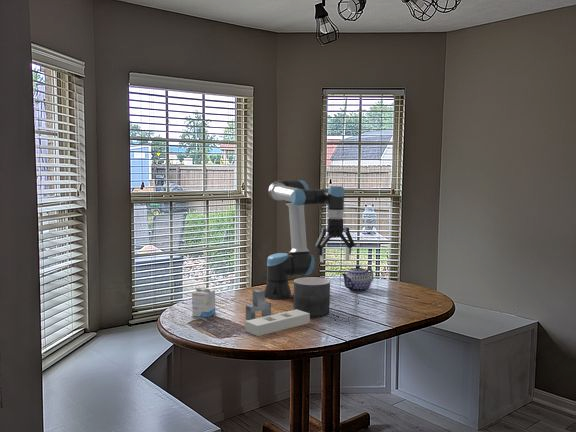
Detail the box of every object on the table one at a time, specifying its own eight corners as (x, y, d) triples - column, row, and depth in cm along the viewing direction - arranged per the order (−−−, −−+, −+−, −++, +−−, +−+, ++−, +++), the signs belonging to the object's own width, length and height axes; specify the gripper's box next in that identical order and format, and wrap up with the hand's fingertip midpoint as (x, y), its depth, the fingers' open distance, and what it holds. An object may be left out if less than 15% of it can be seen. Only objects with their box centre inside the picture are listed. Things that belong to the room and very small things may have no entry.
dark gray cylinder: (310, 305, 270) (311, 275, 268) (337, 312, 257) (337, 281, 256) (286, 312, 257) (286, 280, 256) (312, 319, 245) (312, 286, 243)
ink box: (215, 313, 254) (215, 286, 253) (207, 317, 247) (207, 289, 245) (200, 311, 257) (200, 284, 256) (191, 315, 249) (191, 288, 248)
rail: (257, 336, 220) (257, 325, 219) (244, 331, 227) (244, 321, 226) (309, 323, 239) (309, 313, 239) (296, 318, 246) (296, 309, 246)
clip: (250, 321, 242) (250, 293, 241) (245, 319, 245) (245, 291, 244) (271, 316, 250) (271, 289, 248) (265, 314, 253) (265, 288, 251)
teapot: (364, 285, 318) (364, 261, 317) (382, 290, 305) (383, 265, 304) (332, 290, 304) (333, 265, 302) (350, 296, 291) (350, 269, 290)
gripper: (314, 219, 246) (314, 264, 248) (362, 218, 254) (361, 261, 256) (308, 217, 253) (308, 261, 255) (355, 216, 261) (354, 258, 263)
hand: (334, 261), depth 255 cm, fingers open, 13 cm apart
